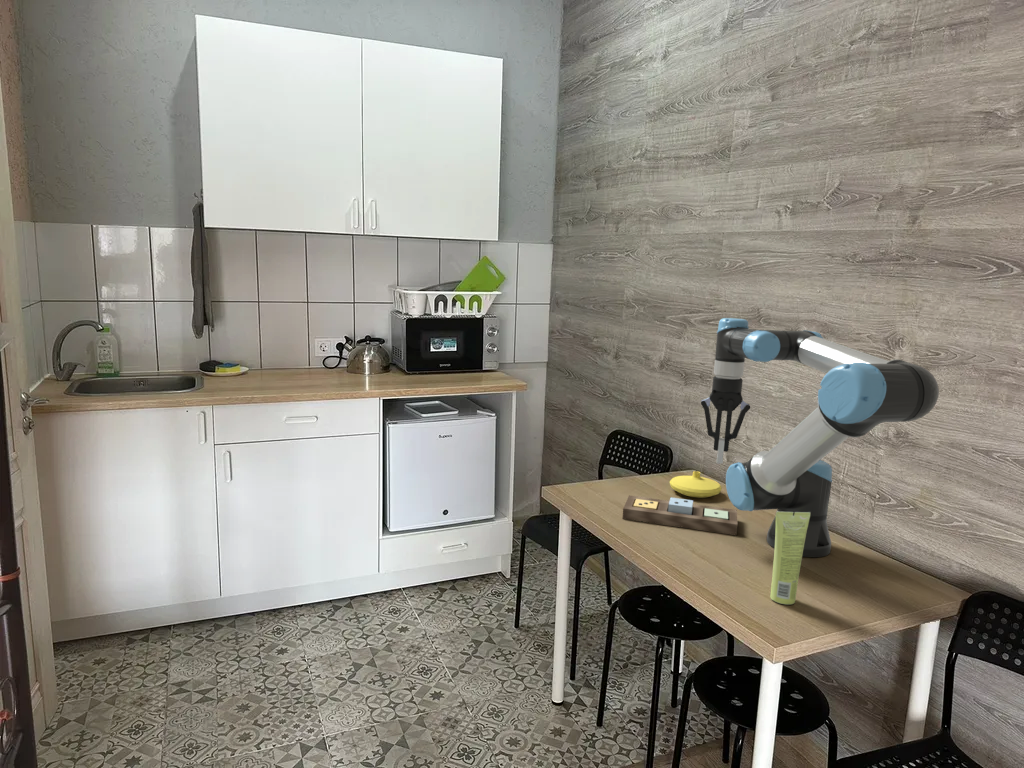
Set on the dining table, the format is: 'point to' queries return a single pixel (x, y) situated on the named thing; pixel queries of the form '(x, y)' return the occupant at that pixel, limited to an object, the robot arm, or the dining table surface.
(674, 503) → the tile
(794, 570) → the tube
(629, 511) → the board
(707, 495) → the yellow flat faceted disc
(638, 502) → the tile
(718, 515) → the tile
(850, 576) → the dining table surface
